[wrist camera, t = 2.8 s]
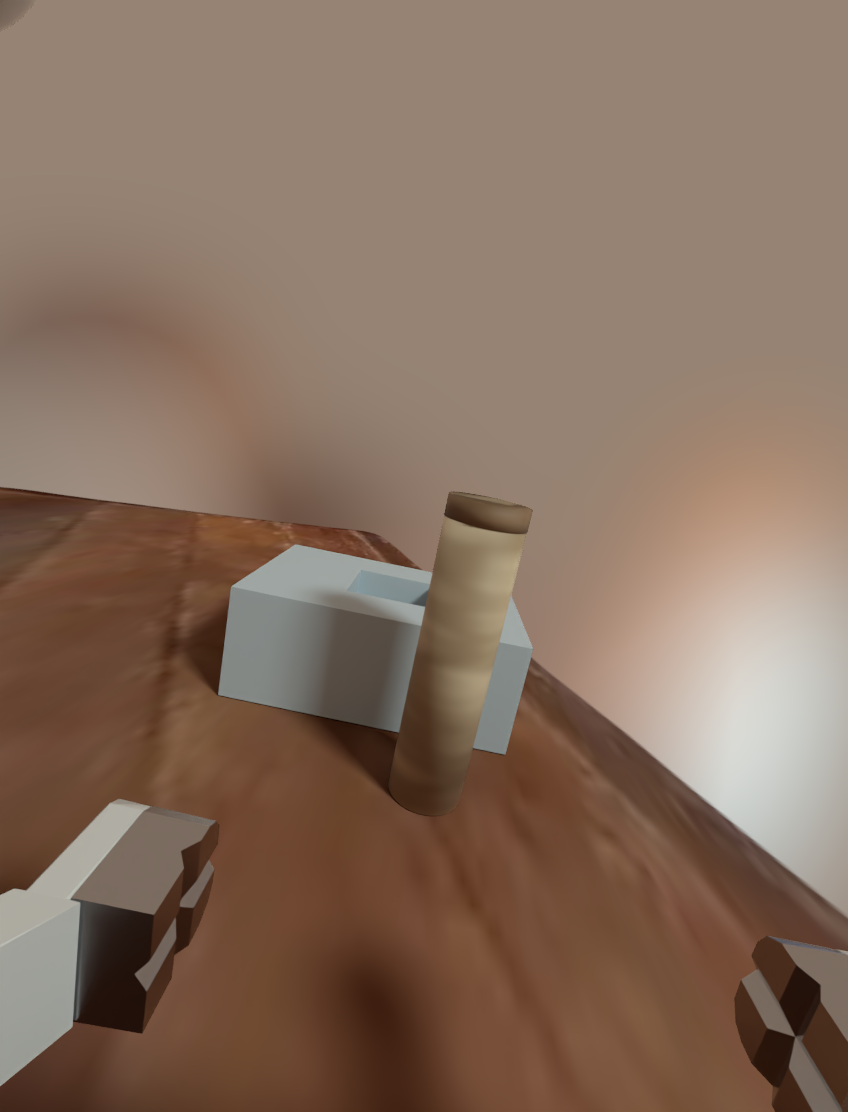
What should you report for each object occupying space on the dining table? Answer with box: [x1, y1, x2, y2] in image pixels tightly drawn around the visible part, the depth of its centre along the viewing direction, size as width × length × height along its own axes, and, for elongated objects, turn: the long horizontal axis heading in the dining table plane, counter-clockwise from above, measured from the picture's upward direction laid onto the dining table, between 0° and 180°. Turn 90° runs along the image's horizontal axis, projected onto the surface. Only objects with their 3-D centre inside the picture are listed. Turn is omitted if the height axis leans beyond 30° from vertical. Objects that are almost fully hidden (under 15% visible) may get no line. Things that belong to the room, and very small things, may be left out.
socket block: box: [218, 545, 533, 755], centre depth 29 cm, size 14×10×6 cm
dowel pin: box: [388, 492, 533, 816], centre depth 20 cm, size 3×3×12 cm
